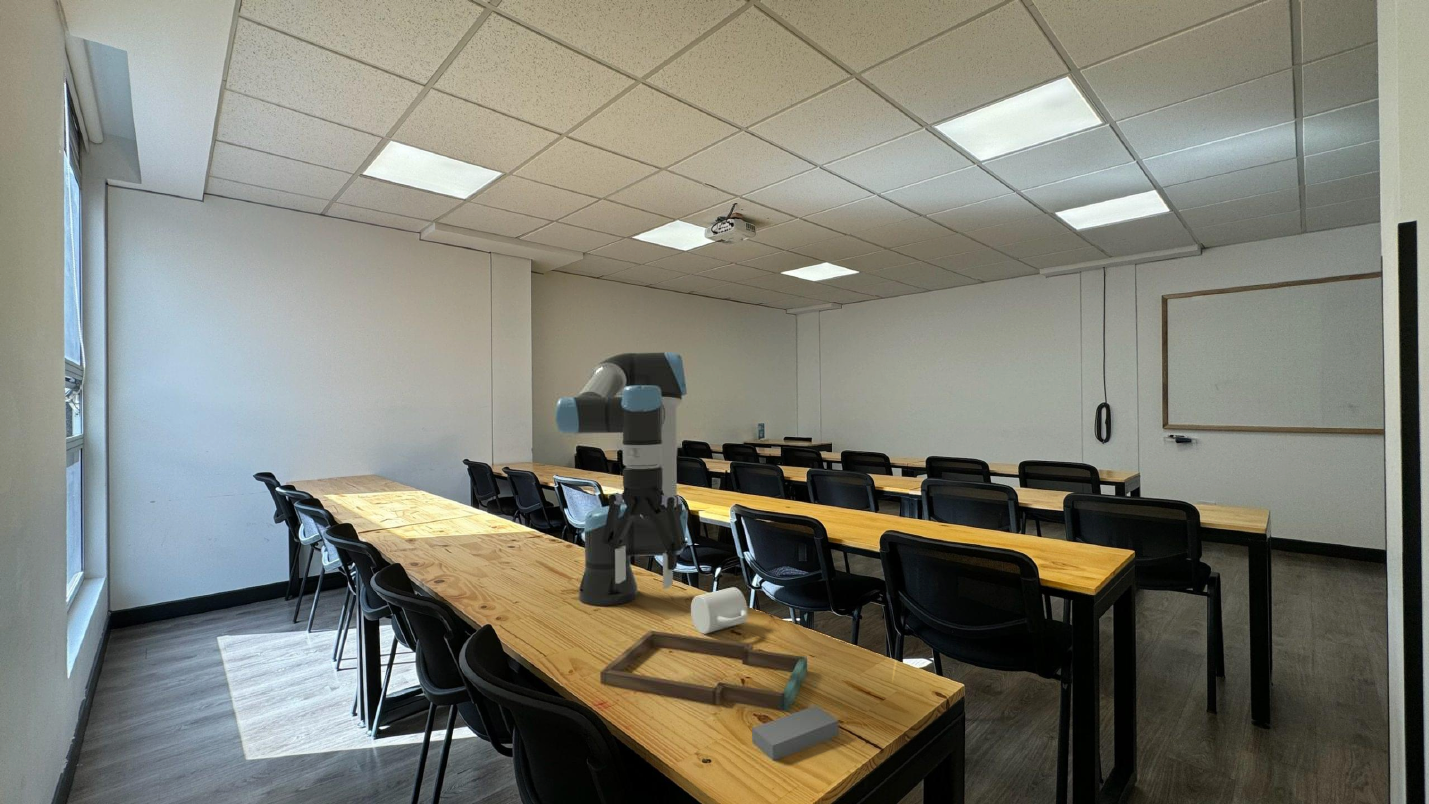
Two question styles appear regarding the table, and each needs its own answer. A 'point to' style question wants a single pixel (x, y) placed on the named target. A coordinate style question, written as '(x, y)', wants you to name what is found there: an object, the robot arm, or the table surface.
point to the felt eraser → (794, 732)
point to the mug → (718, 610)
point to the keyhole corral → (704, 693)
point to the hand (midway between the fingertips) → (644, 583)
